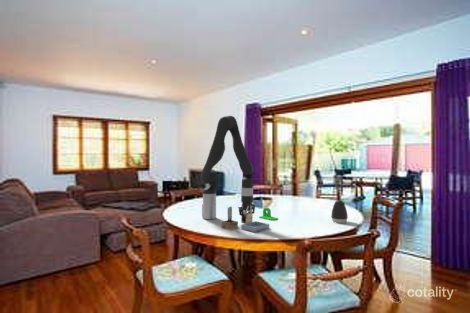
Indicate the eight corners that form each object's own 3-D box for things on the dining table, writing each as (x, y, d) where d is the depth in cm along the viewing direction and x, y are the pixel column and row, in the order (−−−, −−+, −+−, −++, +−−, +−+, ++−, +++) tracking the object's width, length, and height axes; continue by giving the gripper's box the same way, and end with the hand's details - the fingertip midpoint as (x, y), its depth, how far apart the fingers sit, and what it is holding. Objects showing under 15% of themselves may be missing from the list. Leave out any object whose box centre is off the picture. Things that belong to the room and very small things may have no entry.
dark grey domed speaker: (337, 225, 188) (337, 201, 188) (328, 221, 198) (328, 199, 198) (351, 224, 190) (351, 200, 190) (341, 221, 200) (341, 198, 200)
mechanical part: (259, 219, 206) (259, 208, 206) (264, 218, 210) (264, 207, 210) (272, 222, 198) (272, 210, 198) (278, 220, 202) (278, 209, 202)
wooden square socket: (221, 228, 180) (221, 221, 180) (229, 226, 185) (229, 219, 185) (229, 230, 175) (229, 223, 175) (237, 228, 180) (237, 221, 180)
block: (241, 222, 186) (241, 213, 186) (246, 221, 190) (246, 212, 189) (247, 224, 182) (247, 214, 182) (252, 222, 186) (252, 213, 186)
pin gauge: (226, 226, 180) (226, 206, 180) (229, 225, 182) (229, 206, 182) (229, 227, 179) (229, 207, 179) (232, 226, 180) (232, 206, 180)
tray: (241, 229, 177) (241, 224, 177) (255, 225, 186) (255, 221, 186) (255, 232, 169) (255, 227, 169) (269, 229, 178) (269, 224, 178)
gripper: (243, 196, 178) (243, 224, 178) (259, 194, 188) (258, 220, 188) (235, 195, 183) (234, 222, 183) (250, 193, 194) (250, 218, 194)
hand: (246, 221), depth 186 cm, fingers closed on block, 5 cm apart
